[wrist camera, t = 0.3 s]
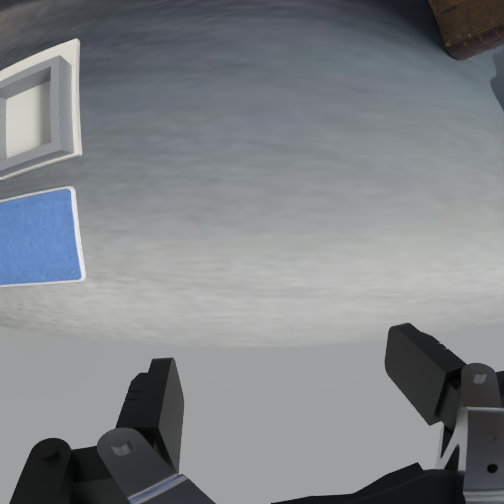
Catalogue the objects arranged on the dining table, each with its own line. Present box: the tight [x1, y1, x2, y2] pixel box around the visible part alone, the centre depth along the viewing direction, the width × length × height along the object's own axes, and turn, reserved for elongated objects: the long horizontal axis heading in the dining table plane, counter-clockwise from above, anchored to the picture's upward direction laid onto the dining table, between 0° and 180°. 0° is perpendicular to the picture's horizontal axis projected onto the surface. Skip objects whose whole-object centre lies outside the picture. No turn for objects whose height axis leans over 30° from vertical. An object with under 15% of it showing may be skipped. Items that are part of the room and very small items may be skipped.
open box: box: [0, 38, 82, 180], centre depth 29 cm, size 17×14×5 cm
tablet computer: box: [0, 186, 86, 287], centre depth 35 cm, size 19×13×1 cm, turn 94°
